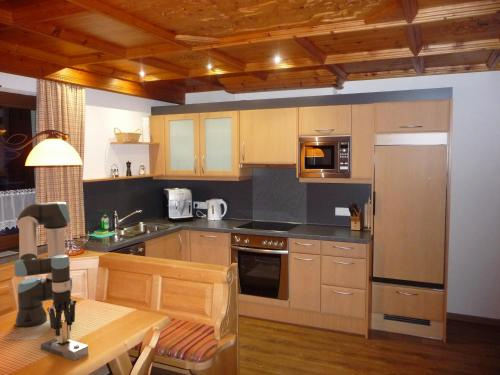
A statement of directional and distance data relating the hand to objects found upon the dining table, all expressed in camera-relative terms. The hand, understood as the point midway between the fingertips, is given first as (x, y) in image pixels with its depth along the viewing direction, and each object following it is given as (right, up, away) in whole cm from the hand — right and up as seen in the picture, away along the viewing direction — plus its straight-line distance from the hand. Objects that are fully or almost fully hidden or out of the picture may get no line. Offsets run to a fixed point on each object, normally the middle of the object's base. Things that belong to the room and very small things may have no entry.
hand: (63, 340), depth 189 cm
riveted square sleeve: (0, -5, 0) cm, 5 cm away
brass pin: (0, -5, 0) cm, 5 cm away
